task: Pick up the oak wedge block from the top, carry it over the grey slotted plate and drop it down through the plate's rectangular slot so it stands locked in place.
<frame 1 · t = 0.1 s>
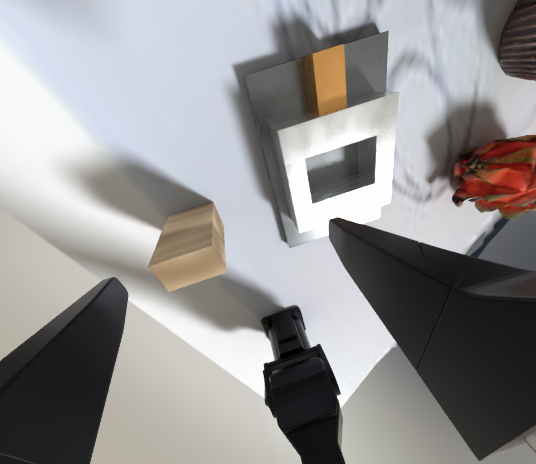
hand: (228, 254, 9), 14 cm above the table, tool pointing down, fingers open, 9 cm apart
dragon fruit: (469, 167, 28), on the table
grey slotted plate: (324, 160, 23), on the table
oak wedge: (196, 220, 24), on the table
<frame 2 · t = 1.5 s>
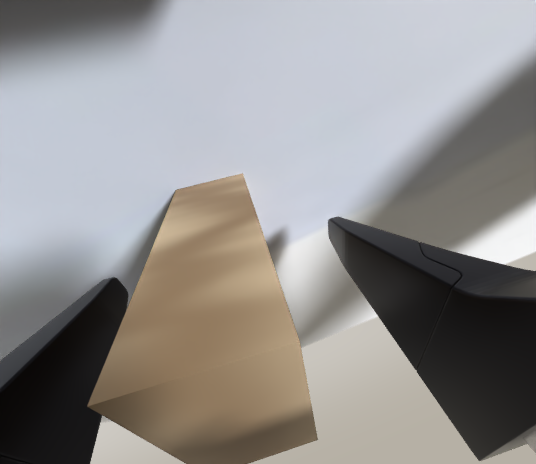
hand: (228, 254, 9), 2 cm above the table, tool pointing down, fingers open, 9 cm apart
oak wedge: (225, 228, 11), on the table
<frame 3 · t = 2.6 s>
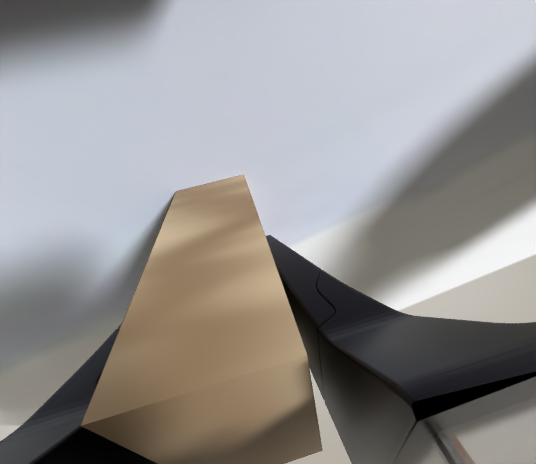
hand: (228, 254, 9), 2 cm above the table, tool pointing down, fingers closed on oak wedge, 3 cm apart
oak wedge: (226, 230, 11), on the table, touching gripper
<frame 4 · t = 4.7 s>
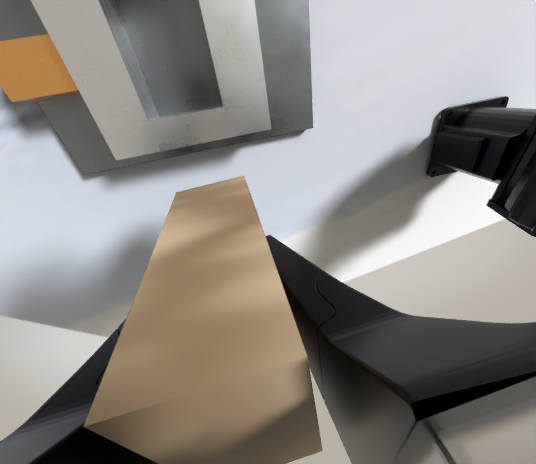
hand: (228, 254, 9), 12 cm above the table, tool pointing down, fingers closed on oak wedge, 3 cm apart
grey slotted plate: (175, 54, 15), on the table
oak wedge: (226, 230, 11), point 10 cm above the table, touching gripper
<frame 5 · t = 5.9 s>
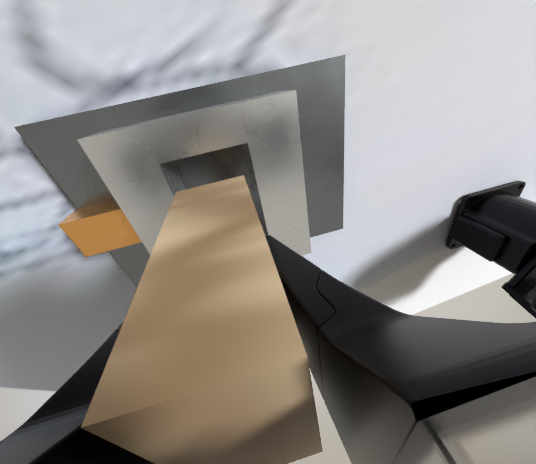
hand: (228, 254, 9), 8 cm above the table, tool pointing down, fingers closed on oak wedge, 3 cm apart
grey slotted plate: (221, 186, 16), on the table
oak wedge: (226, 230, 11), point 6 cm above the table, touching gripper
when the fingers open (6 cm above the table, at t = 6.9 s): oak wedge drops 3 cm, resting on grey slotted plate.
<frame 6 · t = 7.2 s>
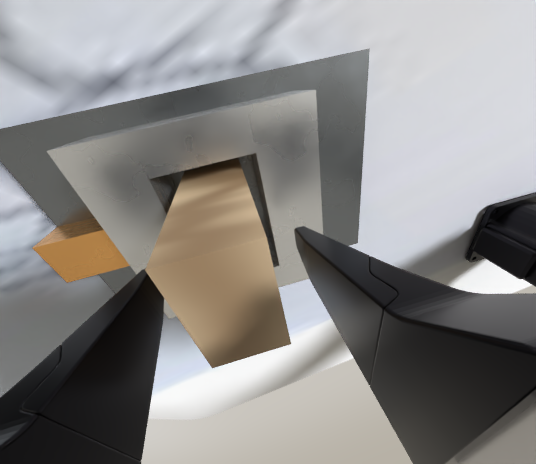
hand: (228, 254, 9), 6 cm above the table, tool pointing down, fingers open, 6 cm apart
grey slotted plate: (223, 198, 14), on the table
oak wedge: (224, 205, 13), point 1 cm above the table, touching grey slotted plate
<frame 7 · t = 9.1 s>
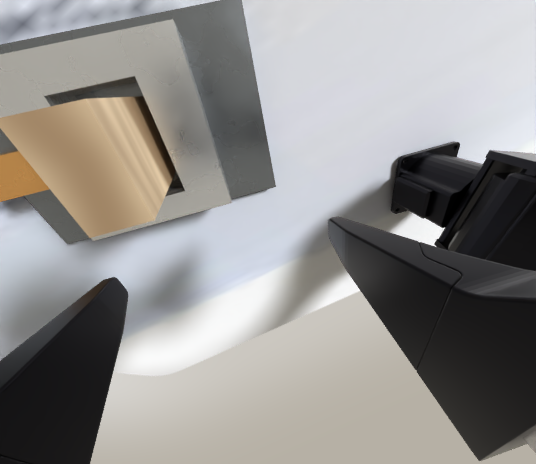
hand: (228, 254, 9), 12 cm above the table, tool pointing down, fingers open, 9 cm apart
grey slotted plate: (142, 139, 16), on the table
oak wedge: (139, 142, 15), point 1 cm above the table, touching grey slotted plate
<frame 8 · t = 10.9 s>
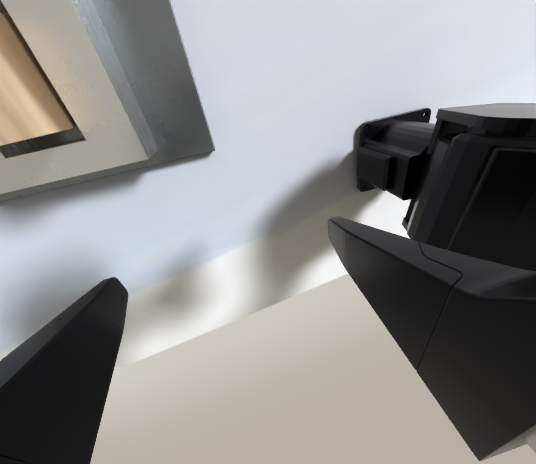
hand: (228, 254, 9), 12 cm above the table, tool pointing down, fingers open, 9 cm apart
grey slotted plate: (48, 84, 14), on the table
oak wedge: (39, 84, 13), point 1 cm above the table, touching grey slotted plate
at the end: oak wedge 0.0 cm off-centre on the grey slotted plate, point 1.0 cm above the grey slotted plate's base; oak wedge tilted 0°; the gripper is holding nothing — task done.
